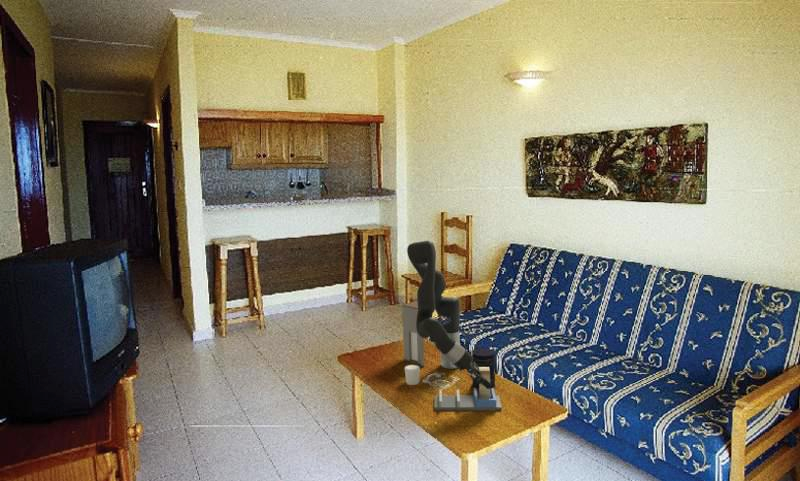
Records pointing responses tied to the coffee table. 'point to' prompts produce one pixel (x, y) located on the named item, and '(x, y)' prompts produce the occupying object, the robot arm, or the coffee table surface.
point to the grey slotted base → (467, 402)
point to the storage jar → (484, 362)
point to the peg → (483, 391)
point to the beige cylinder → (412, 374)
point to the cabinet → (412, 335)
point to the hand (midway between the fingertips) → (489, 384)
